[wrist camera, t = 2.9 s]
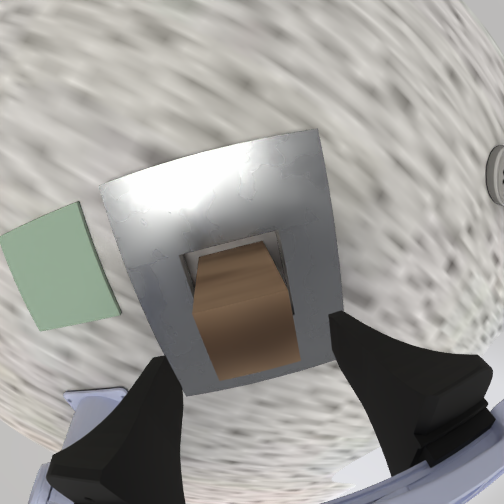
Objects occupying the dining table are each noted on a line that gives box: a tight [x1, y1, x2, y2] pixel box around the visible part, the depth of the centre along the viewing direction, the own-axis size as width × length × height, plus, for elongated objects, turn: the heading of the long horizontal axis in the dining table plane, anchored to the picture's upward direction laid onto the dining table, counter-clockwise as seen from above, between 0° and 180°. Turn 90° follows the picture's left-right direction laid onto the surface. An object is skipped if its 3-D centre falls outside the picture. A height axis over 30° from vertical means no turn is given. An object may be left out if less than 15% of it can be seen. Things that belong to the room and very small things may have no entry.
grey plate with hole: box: [99, 129, 344, 396], centre depth 20 cm, size 18×14×2 cm
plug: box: [192, 241, 301, 381], centre depth 17 cm, size 4×4×8 cm
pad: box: [0, 201, 122, 331], centre depth 19 cm, size 9×9×1 cm
